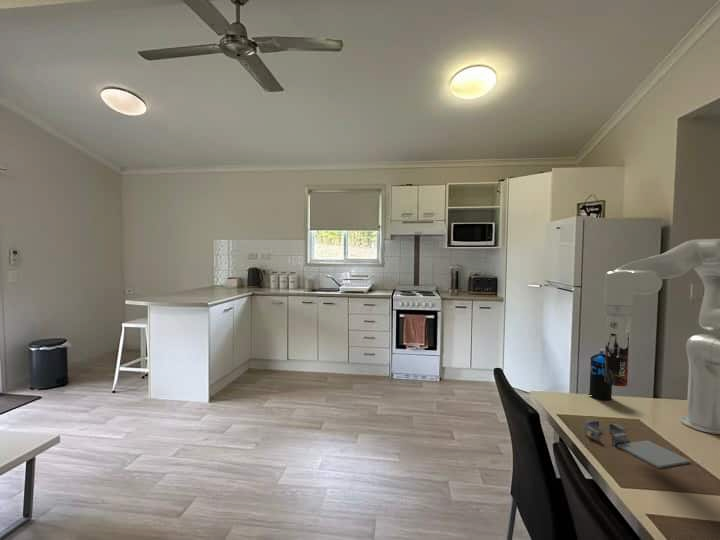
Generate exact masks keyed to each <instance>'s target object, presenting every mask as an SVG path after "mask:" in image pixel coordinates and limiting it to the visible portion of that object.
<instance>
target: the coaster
mask: <svg viewBox="0 0 720 540" xmlns="http://www.w3.org/2000/svg"><path fill="white" fill-rule="evenodd" d="M616 447H617V448H619V449H621V450H623V451H624V452H626V453H628V454H630V455H632V456H634V457H636V458H638V459H639V460H642V461H644V462H645V463H647V464H648V465H650V466H653V467H654V468H656V469H663V468H667V467H674V466H679V465H684V464H689V463H691V460H689V459H688V458H685V457H683V456H681V455H679V454H677V453H675V452H673V451H671V450H669V449H667V448H665V447H662V446H660V445H658V444H656V443H654V442H652V441H650V440H648V439H647V440H640V441H634V442H627V443H626V444H619V445H617V446H616Z"/></svg>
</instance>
